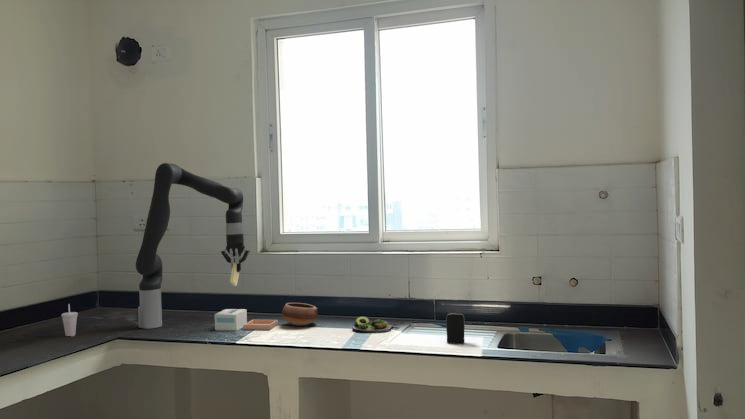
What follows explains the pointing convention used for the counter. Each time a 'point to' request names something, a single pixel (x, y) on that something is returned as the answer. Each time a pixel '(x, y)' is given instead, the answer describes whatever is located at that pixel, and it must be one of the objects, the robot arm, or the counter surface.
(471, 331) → the counter surface
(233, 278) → the pale yellow flat piece
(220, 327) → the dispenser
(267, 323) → the dish
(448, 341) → the battery
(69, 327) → the smoothie
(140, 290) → the robot arm
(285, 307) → the bowl
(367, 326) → the salad plate
